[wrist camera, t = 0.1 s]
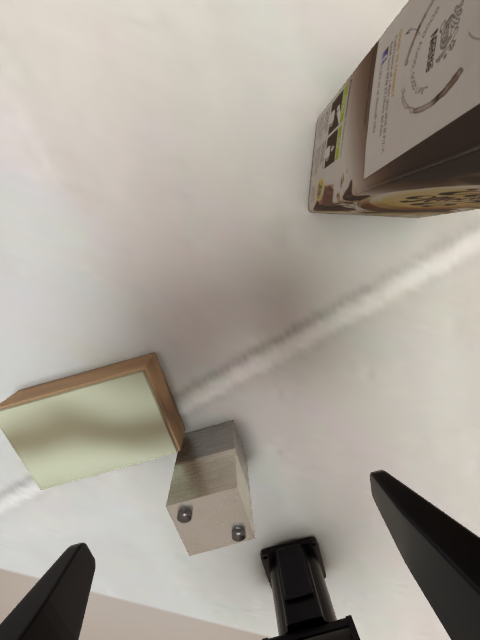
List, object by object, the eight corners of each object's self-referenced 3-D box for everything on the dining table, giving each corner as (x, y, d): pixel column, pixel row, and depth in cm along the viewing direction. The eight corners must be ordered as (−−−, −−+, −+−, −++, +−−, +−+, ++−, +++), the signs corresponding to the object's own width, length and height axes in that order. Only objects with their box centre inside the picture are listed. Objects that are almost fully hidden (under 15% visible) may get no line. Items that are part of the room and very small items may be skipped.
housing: (246, 461, 25) (255, 542, 18) (198, 474, 25) (188, 560, 18) (233, 419, 24) (237, 491, 17) (181, 434, 24) (165, 510, 17)
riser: (185, 429, 24) (179, 453, 21) (61, 463, 24) (39, 492, 21) (154, 352, 22) (144, 368, 19) (18, 390, 22) (-13, 412, 19)
